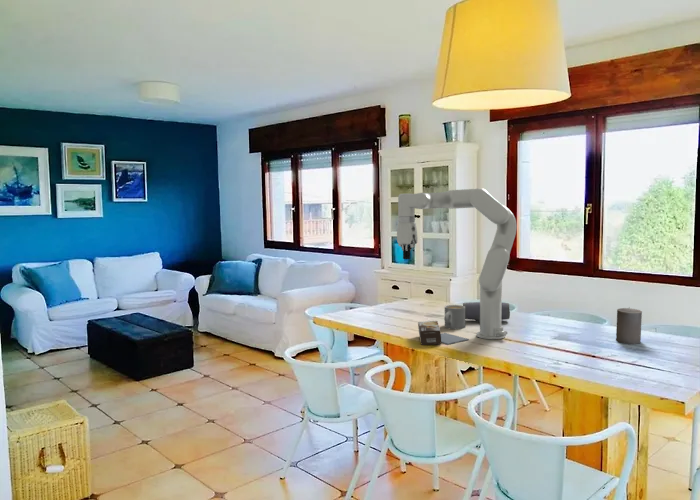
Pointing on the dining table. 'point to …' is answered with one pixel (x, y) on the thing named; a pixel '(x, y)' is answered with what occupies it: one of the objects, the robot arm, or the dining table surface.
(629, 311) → the pillar candle
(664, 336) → the dining table surface
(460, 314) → the coffee mug
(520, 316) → the dining table surface
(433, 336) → the coffee box
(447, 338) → the mat
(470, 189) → the robot arm
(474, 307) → the bluetooth speaker
